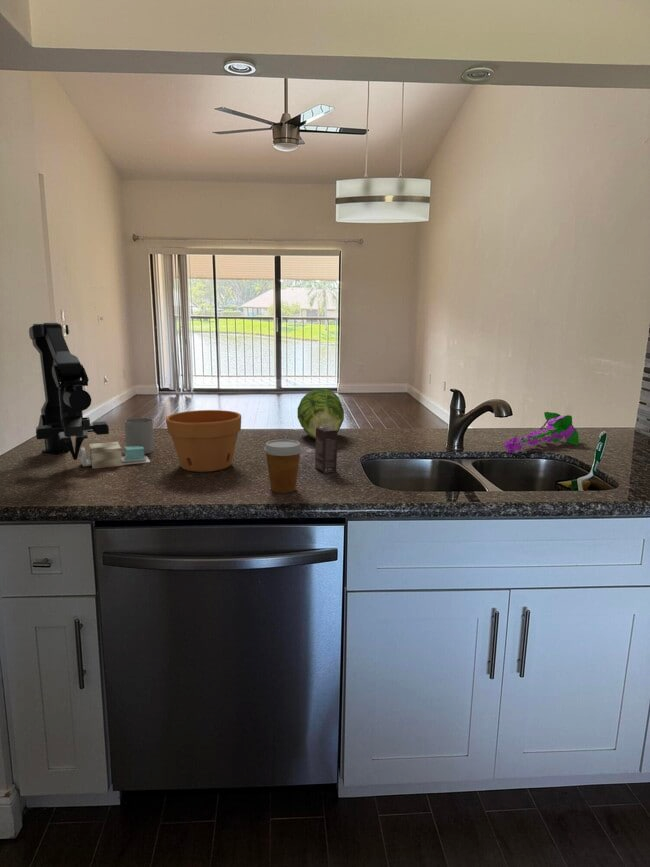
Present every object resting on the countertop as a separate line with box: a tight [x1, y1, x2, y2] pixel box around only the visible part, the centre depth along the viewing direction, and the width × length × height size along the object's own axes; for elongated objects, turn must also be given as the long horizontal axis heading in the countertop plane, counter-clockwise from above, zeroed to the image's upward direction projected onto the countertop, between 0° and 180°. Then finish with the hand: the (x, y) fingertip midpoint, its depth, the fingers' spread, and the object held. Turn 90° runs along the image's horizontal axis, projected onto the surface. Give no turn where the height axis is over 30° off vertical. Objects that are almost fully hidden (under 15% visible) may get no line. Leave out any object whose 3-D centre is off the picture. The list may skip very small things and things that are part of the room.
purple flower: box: [503, 411, 580, 454], centre depth 196 cm, size 12×16×35 cm
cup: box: [124, 417, 155, 455], centre depth 184 cm, size 8×8×10 cm
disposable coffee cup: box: [263, 439, 303, 494], centre depth 147 cm, size 10×10×12 cm
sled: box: [80, 445, 146, 467], centre depth 171 cm, size 18×5×4 cm, turn 115°
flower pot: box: [165, 409, 242, 473], centre depth 168 cm, size 21×21×15 cm
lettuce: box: [297, 388, 345, 440], centre depth 204 cm, size 17×23×16 cm
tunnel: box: [88, 441, 123, 469], centre depth 170 cm, size 8×9×5 cm
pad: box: [122, 455, 151, 466], centre depth 174 cm, size 8×7×1 cm
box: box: [314, 427, 338, 474], centre depth 165 cm, size 6×4×12 cm
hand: (75, 459), depth 167 cm, fingers closed
